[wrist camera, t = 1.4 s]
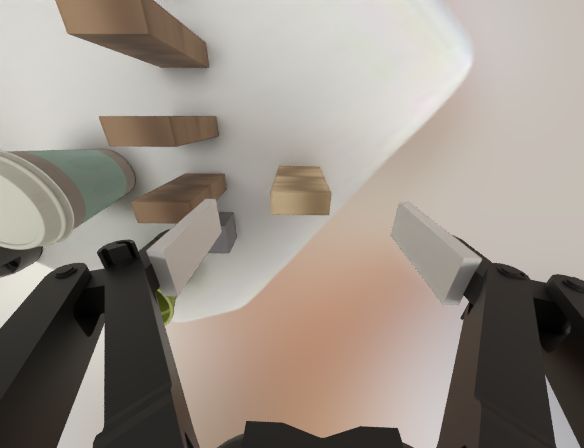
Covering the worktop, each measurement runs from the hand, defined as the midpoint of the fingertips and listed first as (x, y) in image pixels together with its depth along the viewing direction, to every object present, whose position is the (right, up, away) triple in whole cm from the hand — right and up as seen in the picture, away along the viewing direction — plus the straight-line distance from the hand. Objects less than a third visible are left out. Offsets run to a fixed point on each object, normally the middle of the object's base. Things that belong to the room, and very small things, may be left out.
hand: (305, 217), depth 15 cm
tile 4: (-12, +11, +9) cm, 18 cm away
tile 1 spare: (0, +6, +11) cm, 13 cm away
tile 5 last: (-12, +5, +12) cm, 18 cm away
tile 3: (-12, +17, +6) cm, 21 cm away
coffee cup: (-24, +6, +12) cm, 27 cm away
